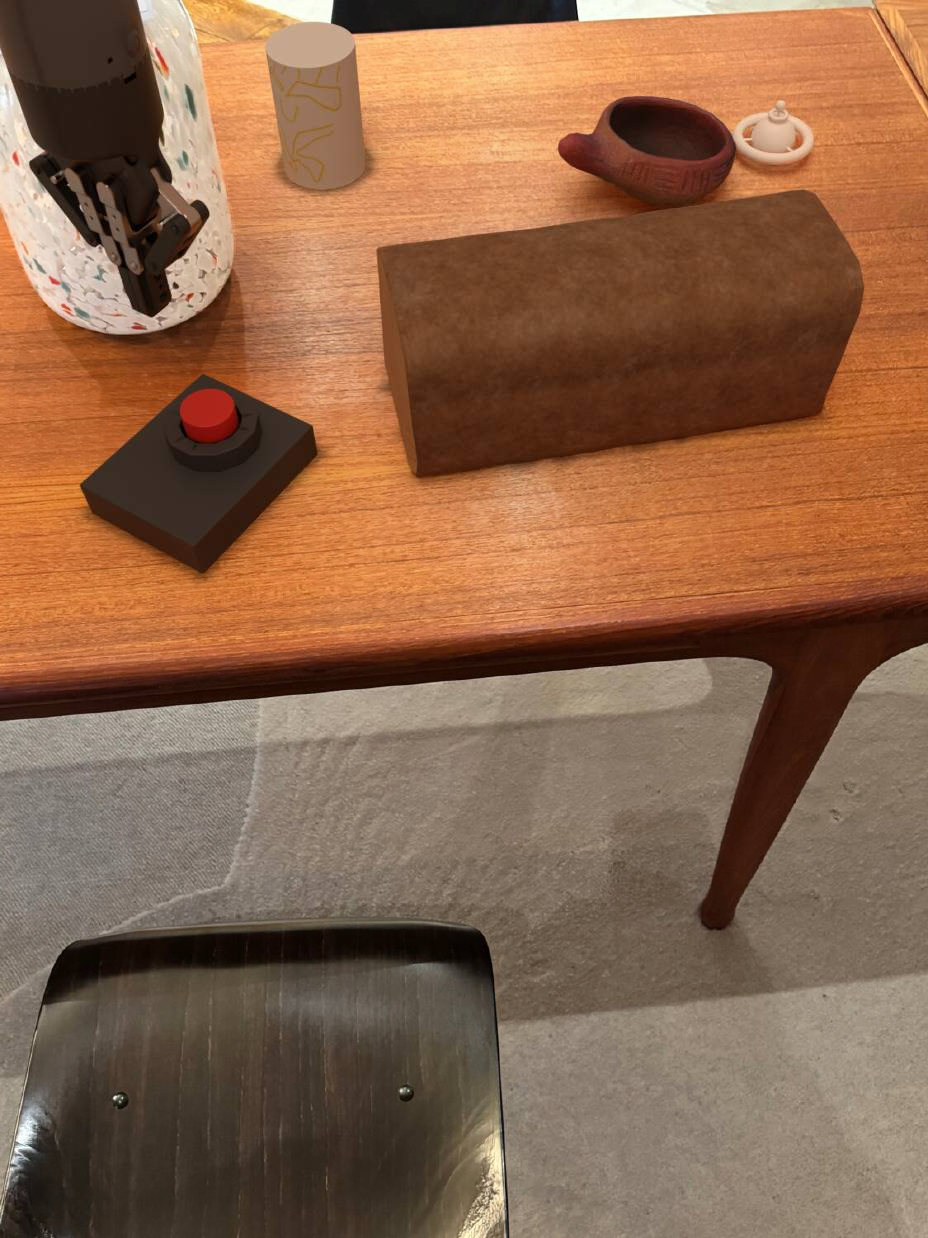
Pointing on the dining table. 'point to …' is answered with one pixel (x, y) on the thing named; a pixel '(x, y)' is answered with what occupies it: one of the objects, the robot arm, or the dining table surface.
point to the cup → (317, 104)
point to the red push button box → (200, 477)
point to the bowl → (655, 150)
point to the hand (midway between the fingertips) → (152, 307)
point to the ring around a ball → (773, 137)
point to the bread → (615, 329)
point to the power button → (209, 415)
